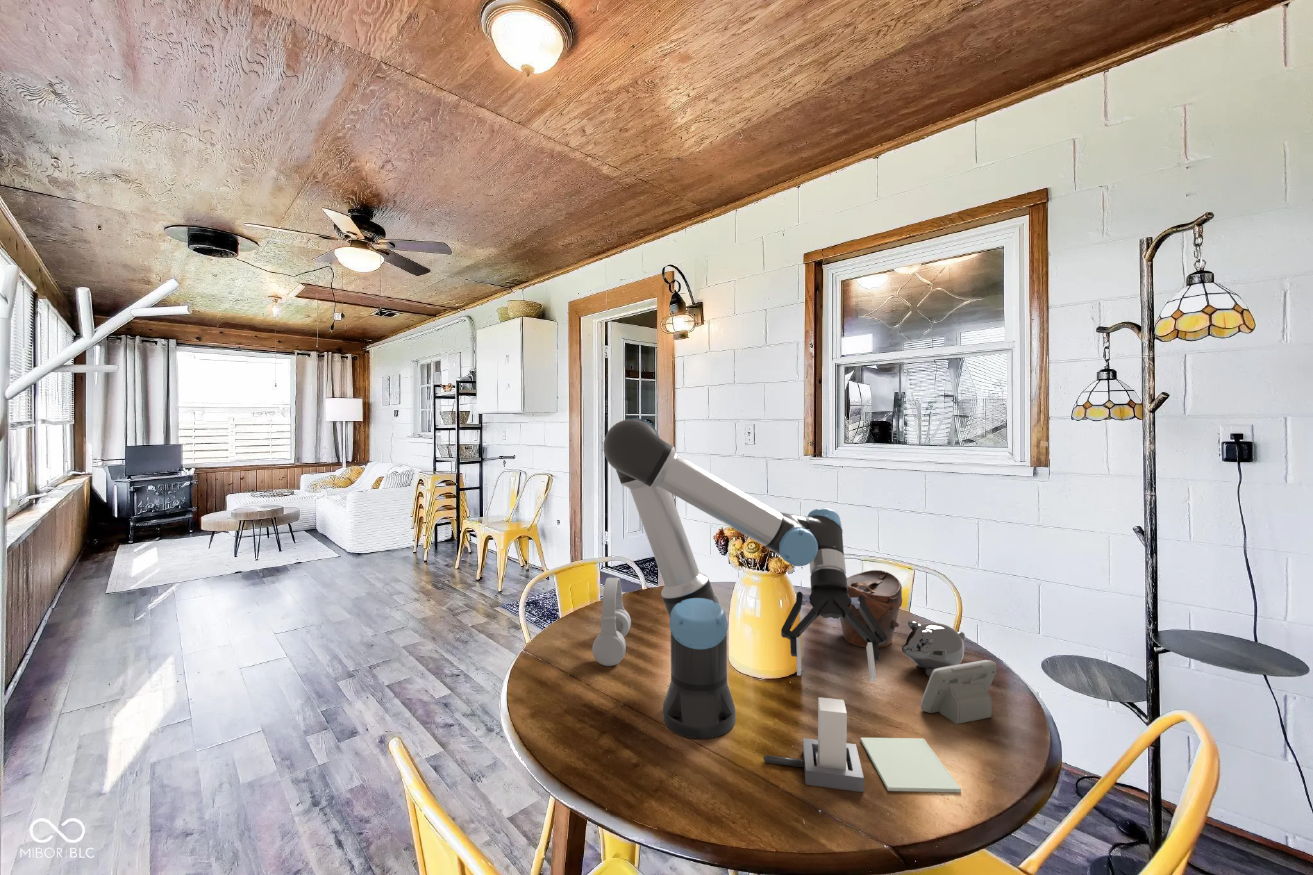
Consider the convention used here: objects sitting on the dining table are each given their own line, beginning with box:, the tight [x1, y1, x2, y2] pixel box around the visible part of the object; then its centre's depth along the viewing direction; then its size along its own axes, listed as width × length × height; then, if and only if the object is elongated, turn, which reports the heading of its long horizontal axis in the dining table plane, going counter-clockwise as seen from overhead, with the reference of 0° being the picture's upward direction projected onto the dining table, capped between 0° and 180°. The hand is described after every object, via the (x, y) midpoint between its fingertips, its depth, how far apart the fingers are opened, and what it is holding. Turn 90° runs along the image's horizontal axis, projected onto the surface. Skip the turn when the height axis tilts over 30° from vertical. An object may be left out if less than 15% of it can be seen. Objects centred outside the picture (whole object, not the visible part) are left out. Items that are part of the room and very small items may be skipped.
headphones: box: [592, 577, 632, 667], centre depth 147 cm, size 20×8×19 cm, turn 178°
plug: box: [815, 696, 849, 770], centre depth 97 cm, size 5×5×12 cm
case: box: [839, 569, 903, 649], centre depth 152 cm, size 18×20×18 cm
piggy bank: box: [901, 620, 966, 677], centre depth 133 cm, size 11×15×12 cm
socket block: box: [763, 737, 865, 793], centre depth 98 cm, size 17×9×2 cm, turn 78°
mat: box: [860, 737, 962, 793], centre depth 99 cm, size 12×14×1 cm
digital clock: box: [920, 659, 998, 725], centre depth 115 cm, size 16×9×11 cm, turn 95°
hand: (835, 676), depth 105 cm, fingers open, 13 cm apart
